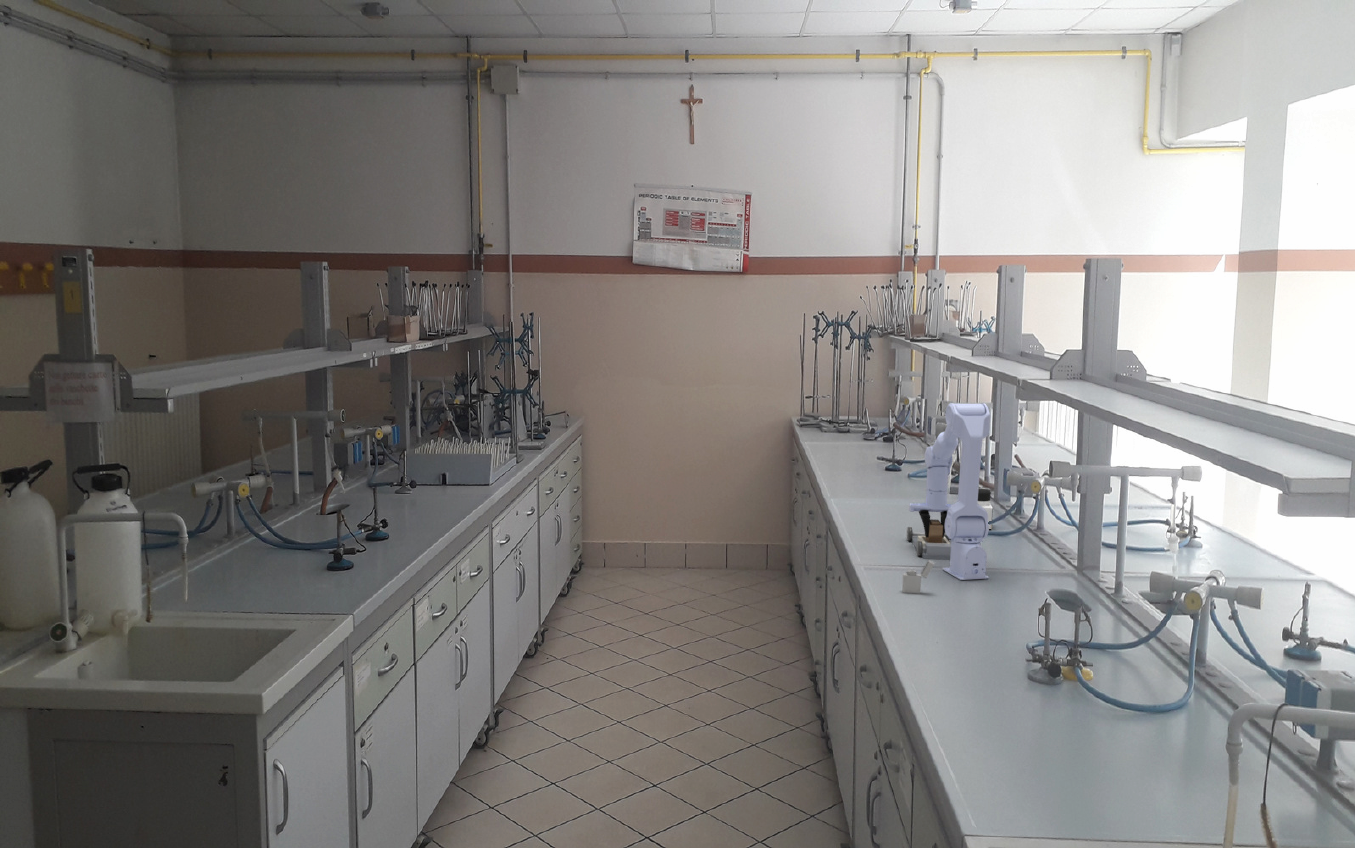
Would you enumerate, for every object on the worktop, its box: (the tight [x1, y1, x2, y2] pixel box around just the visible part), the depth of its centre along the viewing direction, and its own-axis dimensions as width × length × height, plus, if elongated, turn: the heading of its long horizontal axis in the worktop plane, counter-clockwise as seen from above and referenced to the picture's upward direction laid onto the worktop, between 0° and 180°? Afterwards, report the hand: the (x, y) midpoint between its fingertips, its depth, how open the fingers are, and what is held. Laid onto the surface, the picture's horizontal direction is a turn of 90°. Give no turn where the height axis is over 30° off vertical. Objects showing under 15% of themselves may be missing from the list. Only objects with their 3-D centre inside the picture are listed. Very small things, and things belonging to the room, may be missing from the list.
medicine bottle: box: [977, 487, 994, 529], centre depth 298 cm, size 7×7×12 cm
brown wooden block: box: [926, 518, 943, 543], centre depth 272 cm, size 4×4×6 cm
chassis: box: [906, 526, 951, 560], centre depth 272 cm, size 22×12×4 cm, turn 176°
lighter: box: [901, 559, 935, 594], centre depth 232 cm, size 7×2×8 cm, turn 84°
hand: (934, 536), depth 272 cm, fingers closed on brown wooden block, 3 cm apart
